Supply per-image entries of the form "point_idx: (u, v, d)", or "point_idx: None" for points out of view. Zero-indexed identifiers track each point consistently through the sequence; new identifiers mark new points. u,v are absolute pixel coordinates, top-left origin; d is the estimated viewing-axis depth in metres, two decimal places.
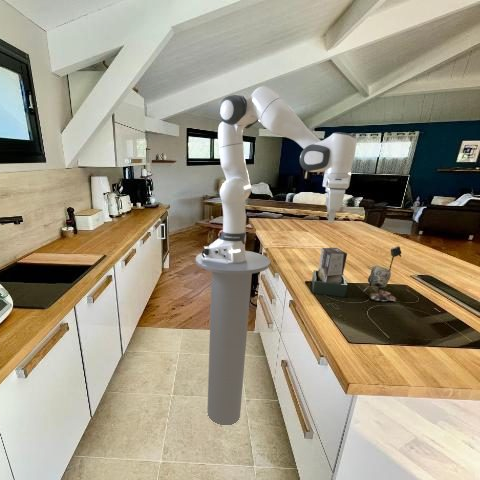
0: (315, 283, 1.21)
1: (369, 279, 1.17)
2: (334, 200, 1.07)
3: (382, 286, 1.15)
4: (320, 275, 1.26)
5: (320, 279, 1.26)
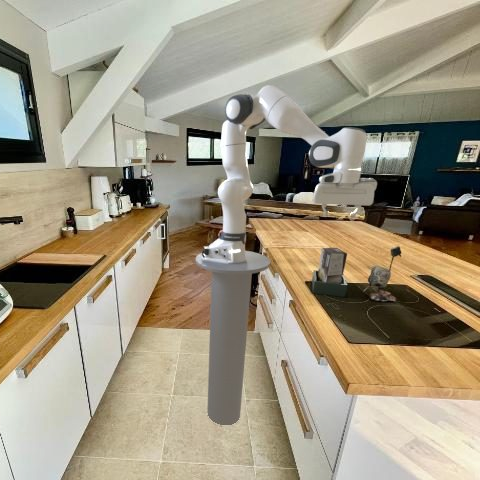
0: (315, 283, 1.21)
1: (369, 279, 1.17)
2: (314, 192, 1.17)
3: (382, 286, 1.15)
4: (320, 275, 1.26)
5: (320, 279, 1.26)
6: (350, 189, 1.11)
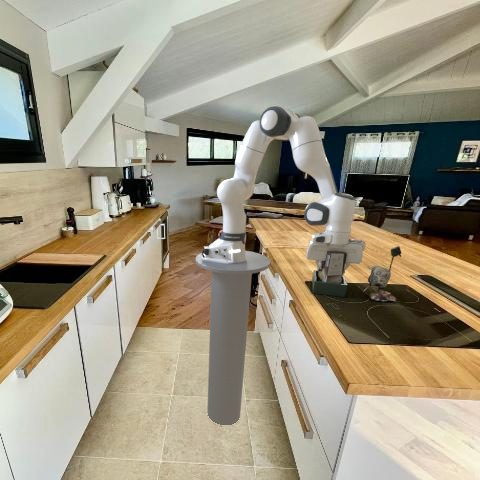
0: (315, 283, 1.21)
1: (369, 279, 1.17)
2: (307, 249, 1.25)
3: (382, 286, 1.15)
4: (320, 275, 1.26)
5: (320, 279, 1.26)
6: (340, 249, 1.19)
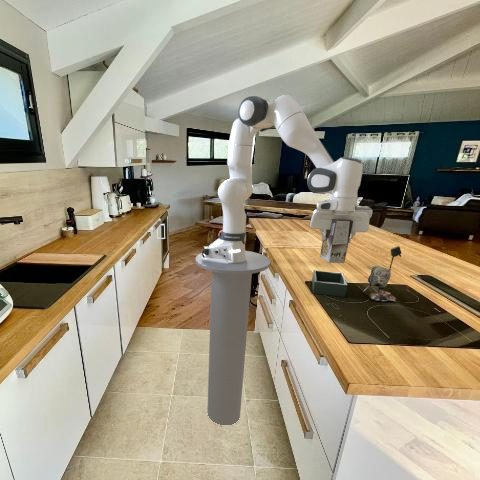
0: (315, 283, 1.21)
1: (369, 279, 1.17)
2: None
3: (382, 286, 1.15)
4: (325, 245, 1.22)
5: (325, 249, 1.22)
6: (346, 216, 1.15)
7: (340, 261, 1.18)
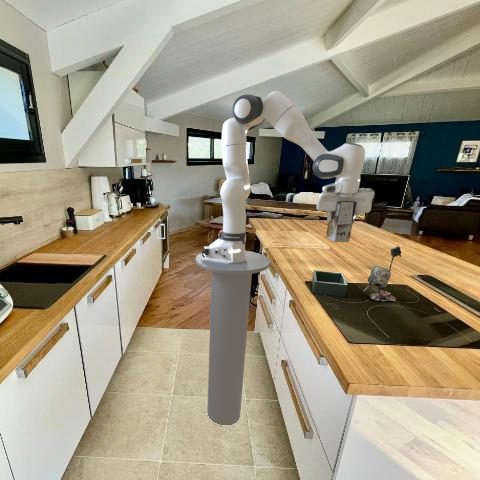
0: (315, 283, 1.21)
1: (369, 279, 1.17)
2: None
3: (382, 286, 1.15)
4: (330, 226, 1.31)
5: (330, 230, 1.31)
6: (350, 198, 1.24)
7: (345, 240, 1.28)
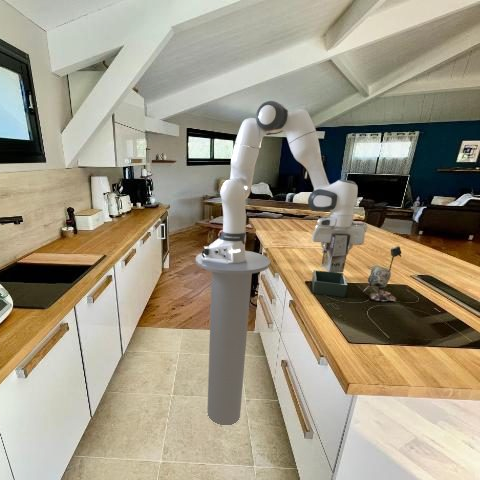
0: (315, 283, 1.21)
1: (369, 279, 1.17)
2: (313, 232, 1.35)
3: (382, 286, 1.15)
4: (325, 256, 1.36)
5: (325, 260, 1.36)
6: (344, 231, 1.29)
7: (339, 270, 1.33)
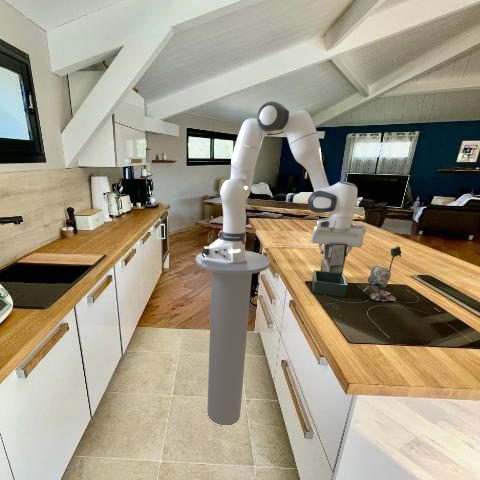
0: (315, 283, 1.21)
1: (369, 279, 1.17)
2: (312, 233, 1.35)
3: (382, 286, 1.15)
4: (323, 265, 1.38)
5: (324, 269, 1.38)
6: (342, 233, 1.30)
7: None
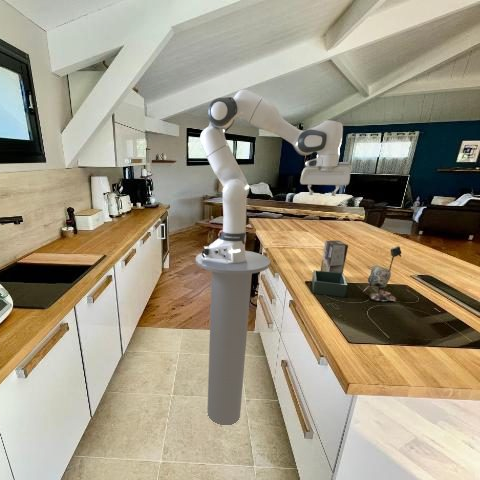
0: (315, 283, 1.21)
1: (369, 279, 1.17)
2: None
3: (382, 286, 1.15)
4: (324, 265, 1.38)
5: (324, 269, 1.38)
6: (330, 172, 1.35)
7: None
